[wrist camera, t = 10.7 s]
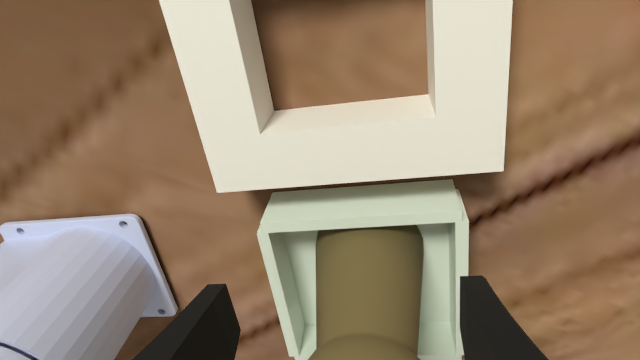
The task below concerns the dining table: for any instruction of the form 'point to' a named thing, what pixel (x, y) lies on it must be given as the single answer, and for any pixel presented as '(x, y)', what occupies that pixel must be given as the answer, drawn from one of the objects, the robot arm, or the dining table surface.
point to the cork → (368, 293)
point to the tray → (358, 212)
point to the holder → (348, 118)
